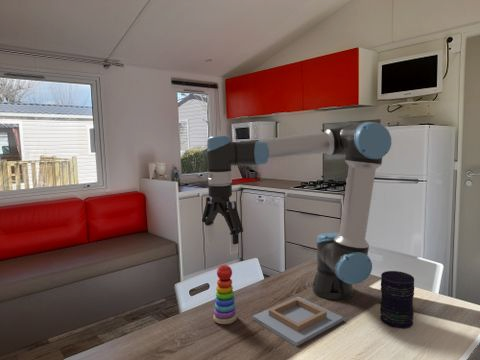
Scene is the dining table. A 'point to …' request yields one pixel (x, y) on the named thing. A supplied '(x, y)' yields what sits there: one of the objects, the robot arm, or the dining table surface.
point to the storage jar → (397, 299)
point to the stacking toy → (224, 297)
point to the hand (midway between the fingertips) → (221, 248)
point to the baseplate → (297, 320)
